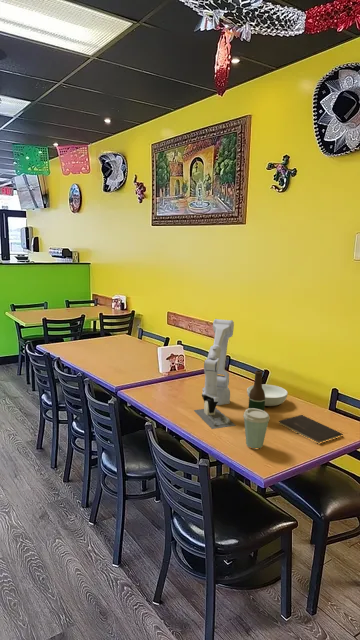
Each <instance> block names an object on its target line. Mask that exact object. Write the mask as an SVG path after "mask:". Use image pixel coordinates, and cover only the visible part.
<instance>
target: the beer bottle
mask: <svg viewBox="0 0 360 640" xmlns="http://www.w3.org/2000/svg"><path fill="white" fill-rule="evenodd" d="M263 373H264V372H263V371H262V370H255V372H254V375H255V376H254V382H253V385H254V386H253V388H252V389H251V391H250V394H249V397H248V407H247V409H249V408H255V409H260V410H263V411H265V407H266V406H265V393H264V390H263V389H262V384H263Z"/></svg>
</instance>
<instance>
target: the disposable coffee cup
mask: <svg viewBox="0 0 360 640" xmlns="http://www.w3.org/2000/svg"><path fill="white" fill-rule="evenodd" d="M243 420H244V433H245V444H246V447H248V448H249V447H251V448H260V449H262V448H263V446H264V442H265V438H266V433H267V431H268V430H267V429H268V425H269V421H270V415H269V413H268V412H267V411H265V410H264V411H263V410H260V409H255V408H249V409H248V408H246V409H245V411H244V412H243ZM261 447H262V448H261ZM251 448H250V449H251Z"/></svg>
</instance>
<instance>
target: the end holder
mask: <svg viewBox="0 0 360 640" xmlns="http://www.w3.org/2000/svg"><path fill="white" fill-rule="evenodd" d="M208 420H209V421H210V422H211V423H212V424H213V425H214V426H218V425H225V424H229V420H230V418H229V417H228V416H226V415H225V414H224V413H222V412H221V418H213V417H212V416H211V415H208ZM230 421H231V420H230Z"/></svg>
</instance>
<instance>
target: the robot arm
mask: <svg viewBox="0 0 360 640" xmlns="http://www.w3.org/2000/svg"><path fill="white" fill-rule="evenodd" d="M234 326H235V322H234V320H232V319H231V320H229V319H219V318H218V319H217V318H215V319H213V323H212V330H213V334H214V339H213V340H214V341H213V345H211V346H210V347H209V351H208V355H207V357H206V358H207V359H205V360H204V364H203V370H204V387H202V392H201V396H202V399H203V403H204V402H205V401H206V400H207V401H208V405H209V413H214V410H215V408H217V406H223V405H227V404H228V405H229V404H230V402H231V390H230V388H229V386H230V385H229V383H230V374H229V372H228V371H227V369H225V367H226V360H227V352H228V343H229V339H230V338H232V337H233V335H234Z"/></svg>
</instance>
